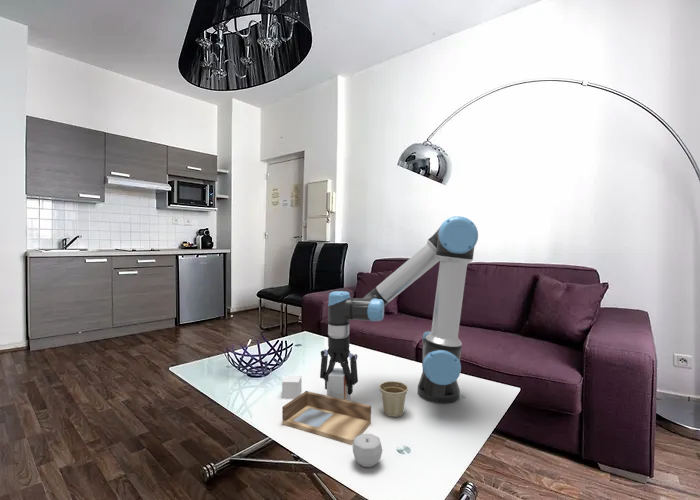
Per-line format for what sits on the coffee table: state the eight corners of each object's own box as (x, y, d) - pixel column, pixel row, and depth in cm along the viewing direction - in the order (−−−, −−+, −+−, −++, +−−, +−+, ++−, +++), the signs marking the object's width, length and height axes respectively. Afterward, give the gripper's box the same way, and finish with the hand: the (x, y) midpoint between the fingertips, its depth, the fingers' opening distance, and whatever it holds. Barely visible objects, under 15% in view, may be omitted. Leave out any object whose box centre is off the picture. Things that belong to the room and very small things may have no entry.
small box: (343, 407, 118) (343, 376, 118) (327, 405, 119) (327, 375, 119) (348, 397, 126) (348, 368, 126) (333, 395, 127) (333, 367, 127)
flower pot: (400, 423, 108) (401, 395, 108) (374, 415, 113) (374, 388, 113) (412, 410, 116) (412, 385, 116) (386, 403, 121) (386, 379, 121)
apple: (346, 468, 86) (346, 442, 86) (357, 451, 93) (357, 426, 93) (377, 476, 83) (378, 449, 83) (386, 457, 90) (386, 432, 90)
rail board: (370, 423, 108) (370, 405, 108) (352, 444, 96) (352, 425, 96) (306, 406, 119) (306, 390, 118) (282, 424, 107) (282, 406, 107)
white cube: (285, 391, 131) (285, 375, 131) (301, 391, 131) (301, 375, 131) (282, 398, 125) (282, 381, 125) (298, 398, 125) (298, 382, 125)
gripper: (368, 336, 121) (368, 402, 121) (320, 330, 130) (320, 391, 130) (359, 342, 114) (359, 411, 115) (309, 334, 123) (309, 399, 124)
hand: (338, 400), depth 122 cm, fingers closed on small box, 7 cm apart
